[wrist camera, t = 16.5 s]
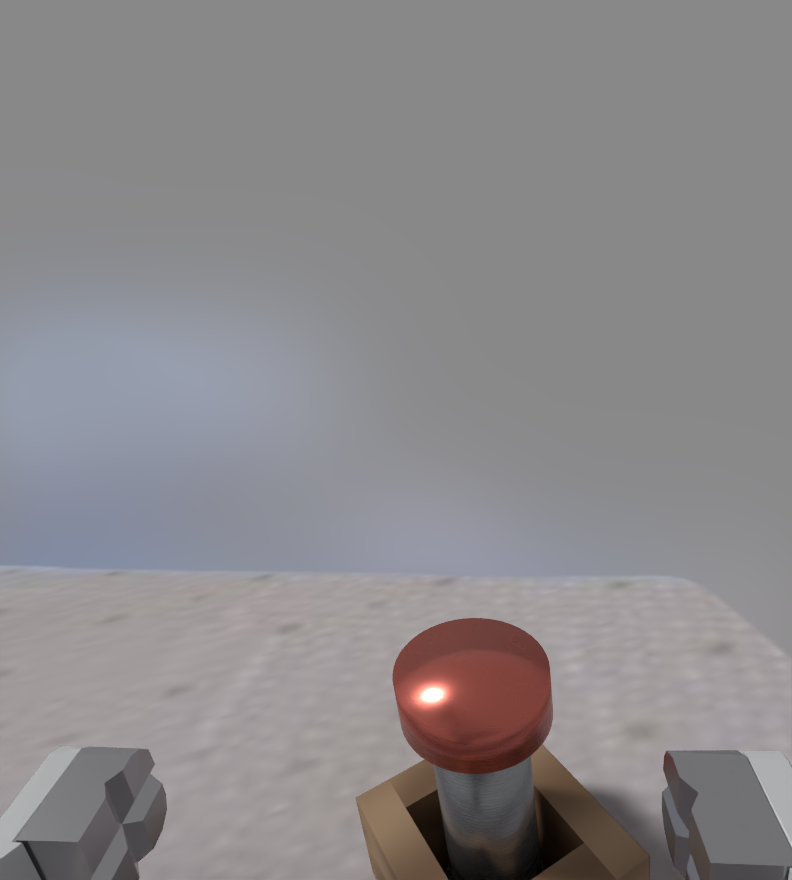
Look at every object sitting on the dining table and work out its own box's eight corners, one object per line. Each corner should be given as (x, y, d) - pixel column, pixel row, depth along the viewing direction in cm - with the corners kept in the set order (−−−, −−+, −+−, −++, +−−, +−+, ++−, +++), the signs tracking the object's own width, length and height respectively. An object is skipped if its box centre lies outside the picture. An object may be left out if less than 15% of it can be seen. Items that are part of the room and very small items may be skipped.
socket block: (372, 870, 30) (355, 797, 28) (518, 781, 33) (510, 711, 32) (473, 1081, 22) (458, 998, 20) (649, 937, 25) (649, 855, 24)
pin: (412, 880, 29) (367, 656, 25) (512, 817, 31) (488, 601, 27) (483, 1012, 24) (443, 759, 19) (597, 925, 26) (585, 680, 22)
